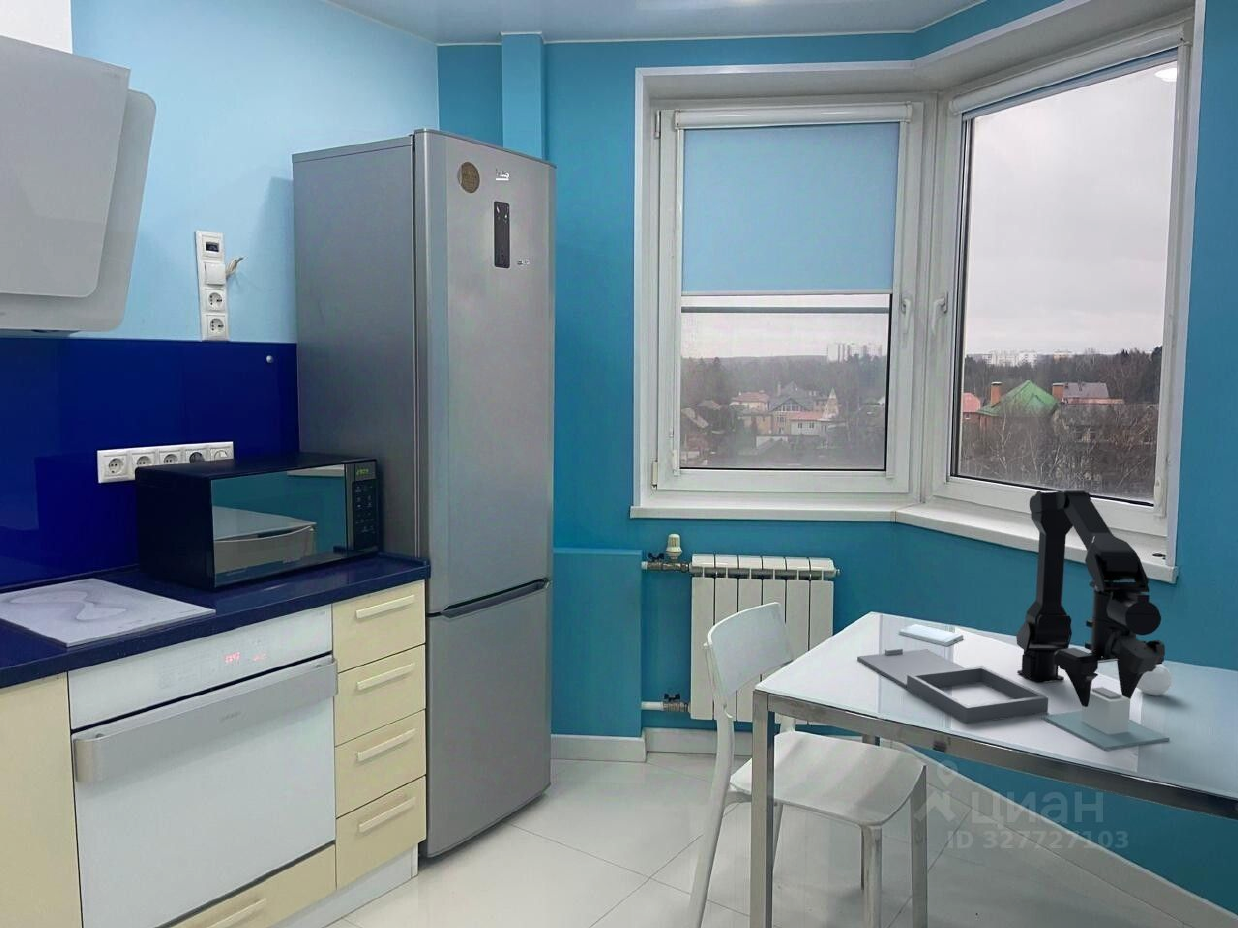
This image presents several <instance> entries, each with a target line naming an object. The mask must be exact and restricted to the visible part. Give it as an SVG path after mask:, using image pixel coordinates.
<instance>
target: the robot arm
mask: <svg viewBox="0 0 1238 928" xmlns="http://www.w3.org/2000/svg"><path fill="white" fill-rule="evenodd" d="M1091 497H1092V496H1091V493H1090V492H1089V491H1088V490H1085V489H1083V488H1082V489H1081V488H1078V489H1077V488H1076V489H1075V488H1073V489H1072V488H1068V489H1067V488H1063V489H1061V490H1037V491H1036V492H1035V494H1034V495H1032V496H1031V497H1030V499H1029V510H1030V512H1031V513H1030V514H1031V517H1030V518H1031V520H1032V522H1033V524H1034V525H1035V527H1036V529H1037V530H1038V534H1039V535H1038V551H1037V552H1038V553H1037V571H1036V587H1035V588H1036V590H1035V600H1034V602H1033V603H1032V604H1031V606H1029V608H1028V609H1027V610H1026V613H1025V621H1024V622H1023V624H1022V625H1021V627H1020V628H1019V630H1018V631H1017V633H1016V634H1015V635H1016V637H1015V638H1016V645H1017V646H1018V647H1020V649H1022V650H1023V654H1022V655H1021V656H1022V658H1021V659H1022V660H1021V669H1019V670H1018V669H1017V672H1016V673H1017V674H1019V675H1021V676H1024V677H1025V678H1028V679H1030V680H1032V681H1034V682H1036V683H1040V684H1042V683H1047V682H1048V683H1049V682H1055V681H1064V680H1065V678H1064V676H1062V675H1061V674H1060V675H1059V669H1061V670H1064V671H1065V674H1066V675H1067V677H1068V679H1069V680H1070V682H1071V684H1072V686H1073V689H1074V692H1075V694H1076V696H1077V698H1078V700H1079V702H1080V705H1081V706H1084V707H1088V705H1089V700H1090V691H1091V688H1092V681H1093V680H1094V679H1095V678H1096V677H1097V676H1098V675H1099V674H1098V673H1096V671H1097V670H1098V668H1099V664H1102V663H1104V664H1105V663H1113V662H1116V663H1117V664H1116V665H1117V672H1118V678H1119V684H1120V685H1119V688H1120V693H1121V695H1123V696H1125V697H1127V698H1130V700H1131V699H1132V696H1133V694H1134V692H1135V690H1136V689H1137V687H1136V686H1137V684H1138V682H1139V680H1140V679H1141V677H1142V675H1143V674H1144V673H1146V672H1148V671H1149V672H1151V671H1153V670H1154V669H1155V668H1156V666H1155V665H1160V664H1161V665H1163V663H1164V662H1165V658H1164V657H1165V655H1166V653H1165V652H1166V649H1165V648H1166V647H1165V644H1164V642H1162V641H1161V640H1160V639H1154V640H1153V639H1152V640H1149V641H1147V640H1145V639H1143V640H1140V639H1139V638H1138V637H1137V635H1138V636H1148V635H1150V634H1152V633H1154V632H1155V631H1156V630H1157V629H1158V628H1159V626H1160V624H1161V621H1162V615H1161V613H1160V610H1159V608H1158V607H1157V606H1156V605H1155V604H1153V603H1152V602H1150V600H1151V599H1150V597H1151V596H1150V595H1149V594H1148V593H1150V590H1151V589H1150V586H1149V583H1150V580H1149V578H1148V576H1147V573H1146V571H1145V569H1144V567H1143V564H1142V560H1141V558H1140V557H1139V555H1138V553H1137V552H1136V551H1135V550H1134V548H1133V547H1132V546H1131V545H1130V544H1129V543H1128V542H1127V541H1125V540H1123V539H1121V538H1119V537H1117V536H1115V535H1114V534H1113V533H1112V531H1111V530H1110V528H1109V527H1108V524H1107V523H1106V522H1105V520H1104V518H1103V517H1102V515H1101V514H1100V513H1099V510H1098V509H1097V508H1096V507H1095V505H1094V503H1093V502H1092V498H1091ZM1072 528H1074V530H1075V532H1076V534H1077V536H1078V537H1079V538H1080V540H1081V542H1082V543H1083V545H1084V547H1085V549H1086V551H1087V553H1086V555H1085V559H1084V562H1085V564H1086V568H1087V571H1088V573H1089V575H1090V577H1091V579H1092V580H1091V581H1090V582H1089V584H1088V585H1089V586H1090V588H1093V592H1092V593H1093V595H1092V596H1093V598H1092V612H1091V619H1088V620H1085V627H1088V628H1091V629H1090V631H1091V632H1090V641H1088V642H1084V649H1087V650H1089V651H1090V652H1086V651H1084V650H1081V649H1079V648H1076V647H1070V643H1071V638H1072V635H1073V632H1072V631H1073V630H1072V627H1071V625H1072V618H1071V616H1070V615H1069V614H1068V613H1067V611H1066V610H1065V608H1064V606H1063V605H1062V603H1063V585H1064V570H1065V569H1064V568H1065V551H1066V537H1067V534H1068V533H1069V532H1070V530H1071V529H1072ZM1069 647H1070V648H1069Z"/></svg>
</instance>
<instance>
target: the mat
mask: <svg viewBox="0 0 1238 928" xmlns="http://www.w3.org/2000/svg"><path fill="white" fill-rule="evenodd" d="M1042 720H1044V721H1047V722H1048V723H1050V724H1053V725H1054V726H1056V727H1058V728H1060V729H1062V730H1064V731H1066V732H1068V733H1069V734H1072V735H1073V736H1076V737H1078V738H1079V739H1081V740H1084V741H1085V742H1088V743H1089V744H1091V745H1094V746H1095V747H1097V748H1099V749H1101V750H1103V751H1109V750H1115V749H1123V748H1128V747H1129V748H1130V747H1135V746H1141V745H1147V744H1154V743H1160V742H1161V743H1162V742H1167V741H1170V737H1169V736H1167V735H1165V734H1162V733H1161V732H1158V731H1156V730H1154V729H1151V728H1149V727H1147V726H1145V725H1142V724H1140V723H1139V722H1136V721H1134V720H1132V719H1130V718H1129V730H1128V732H1122V733H1116V734H1109V735H1108V734H1106V733H1104V732H1101V731H1099V730H1097V729H1095V728H1093V727H1091V726H1089V725H1087V724H1085V723H1083V722H1081V710H1076V711H1068V712H1062V713H1061V712H1060V713H1054V714H1048V715H1042Z"/></svg>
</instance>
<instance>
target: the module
mask: <svg viewBox="0 0 1238 928" xmlns="http://www.w3.org/2000/svg"><path fill="white" fill-rule="evenodd" d="M1080 711H1081V722H1083V723H1085V724H1087V725H1089V726H1091V727H1093V728H1095V729H1097V730H1099V731H1101V732H1104V733H1106V734H1108V735H1109V734H1116V733H1122V732H1128V730H1129V719H1130V711H1131V699H1130V698H1127V697H1125V696H1123V695H1122V694H1120V693H1117V692H1115V691H1113V690H1111V689H1109V688H1105V687H1104V686H1099V687H1098V686H1097V687H1091V691H1090V700H1089V705H1088V707H1084V706H1082V705H1081V709H1080Z"/></svg>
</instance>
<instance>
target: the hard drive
mask: <svg viewBox="0 0 1238 928" xmlns="http://www.w3.org/2000/svg"><path fill="white" fill-rule="evenodd" d="M898 635H899V636H905V637H909V638H913V639H916V640H921V641H924V642H929V643H932V644H937V645H940V646H946V647H948V646H951V645H953V644H955V643H958V642H960V641H961V640H963V639H964V634H963V635H962V634H959V633H956V632H951V631H947V630H942V629H938V628H934V627H929V626H925V625H921V624H916V623H913V624H912V625H909V626H906V627H904V628H901V629H899V630H898Z"/></svg>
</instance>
